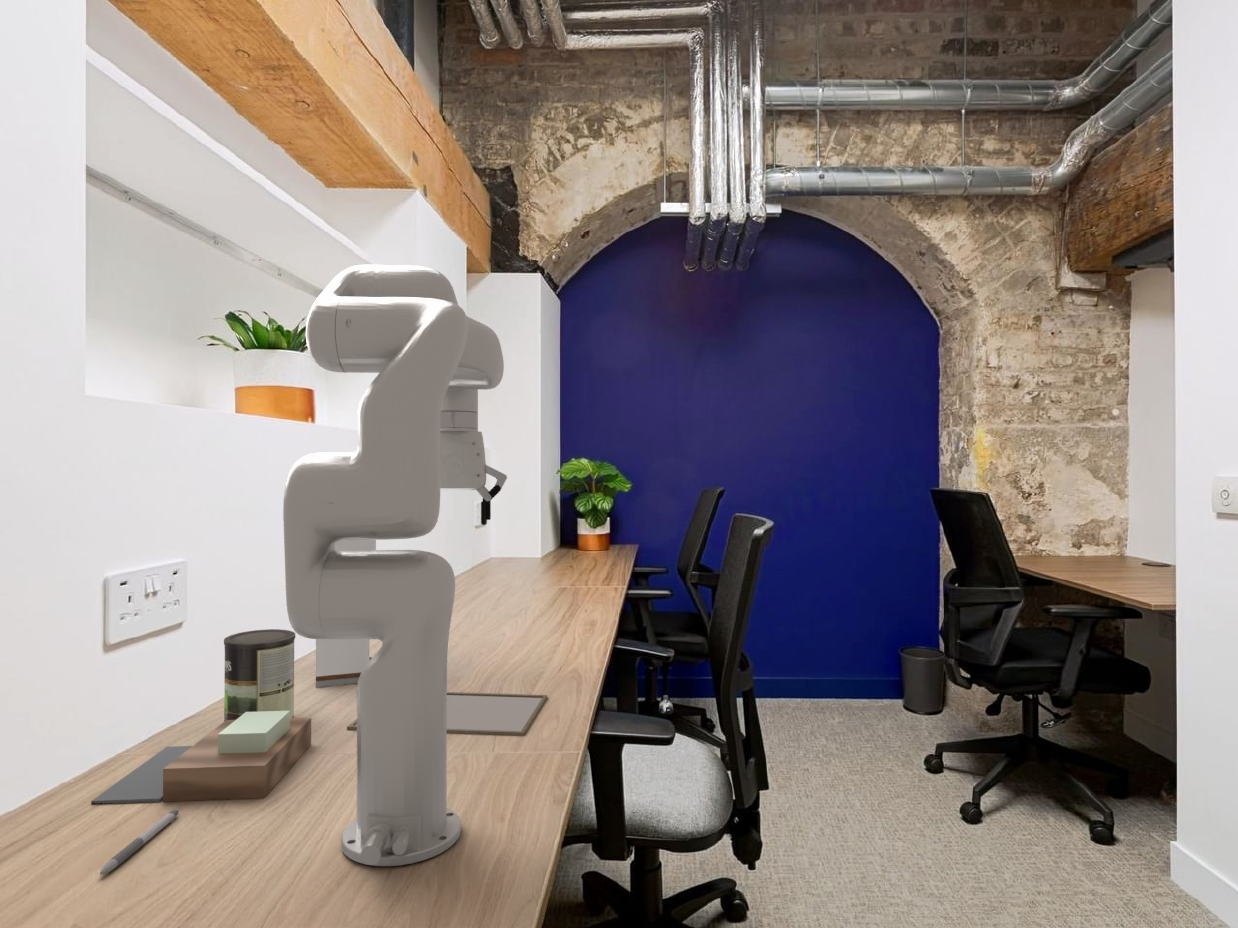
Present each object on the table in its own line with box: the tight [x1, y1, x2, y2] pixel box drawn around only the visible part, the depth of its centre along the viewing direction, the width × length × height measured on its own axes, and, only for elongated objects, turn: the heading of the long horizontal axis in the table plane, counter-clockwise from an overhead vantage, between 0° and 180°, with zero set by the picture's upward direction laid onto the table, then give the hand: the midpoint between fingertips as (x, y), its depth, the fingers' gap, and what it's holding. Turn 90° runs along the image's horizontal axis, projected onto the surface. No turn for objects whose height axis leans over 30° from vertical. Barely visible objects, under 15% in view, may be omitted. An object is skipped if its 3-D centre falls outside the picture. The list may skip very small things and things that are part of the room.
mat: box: [90, 745, 193, 805], centre depth 101 cm, size 18×8×1 cm, turn 5°
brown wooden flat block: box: [162, 717, 312, 803], centre depth 102 cm, size 18×12×4 cm, turn 5°
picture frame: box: [346, 691, 548, 737], centre depth 126 cm, size 19×1×28 cm
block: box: [218, 711, 290, 754], centre depth 102 cm, size 9×6×2 cm, turn 5°
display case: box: [315, 540, 377, 688], centre depth 148 cm, size 11×11×35 cm
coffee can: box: [223, 628, 296, 722], centre depth 120 cm, size 10×10×14 cm
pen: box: [99, 808, 180, 875], centre depth 82 cm, size 1×14×1 cm, turn 2°
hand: (455, 524), depth 128 cm, fingers open, 9 cm apart
